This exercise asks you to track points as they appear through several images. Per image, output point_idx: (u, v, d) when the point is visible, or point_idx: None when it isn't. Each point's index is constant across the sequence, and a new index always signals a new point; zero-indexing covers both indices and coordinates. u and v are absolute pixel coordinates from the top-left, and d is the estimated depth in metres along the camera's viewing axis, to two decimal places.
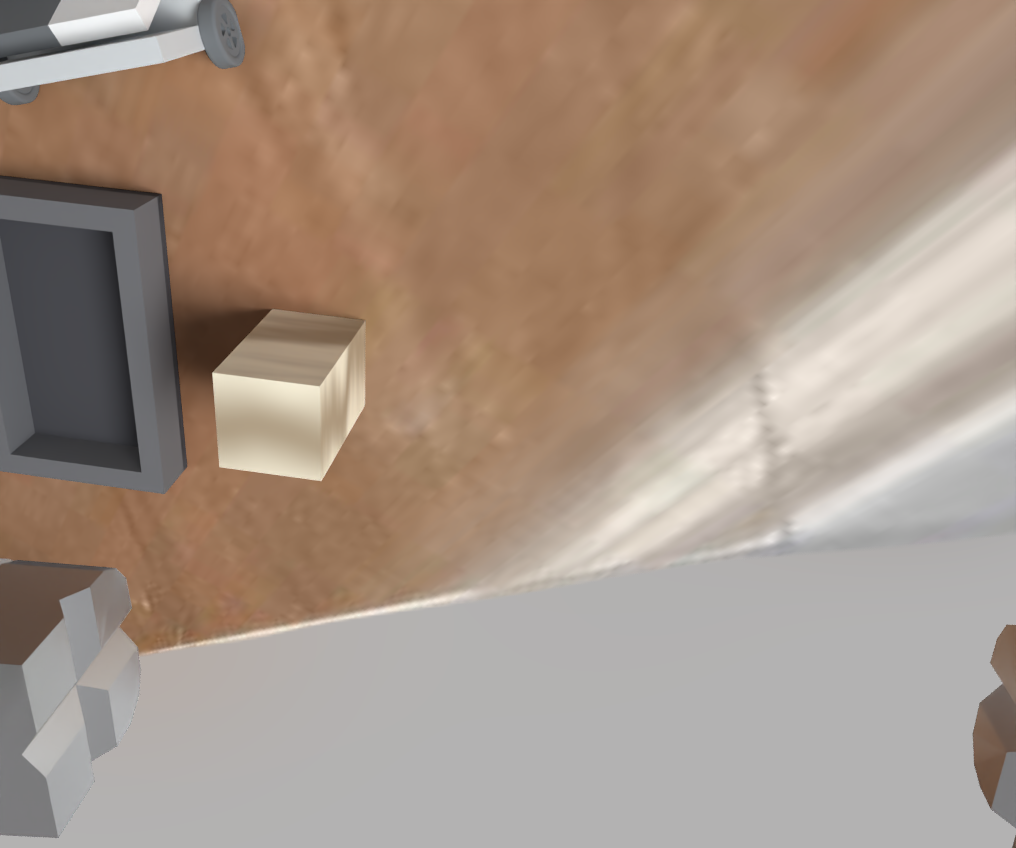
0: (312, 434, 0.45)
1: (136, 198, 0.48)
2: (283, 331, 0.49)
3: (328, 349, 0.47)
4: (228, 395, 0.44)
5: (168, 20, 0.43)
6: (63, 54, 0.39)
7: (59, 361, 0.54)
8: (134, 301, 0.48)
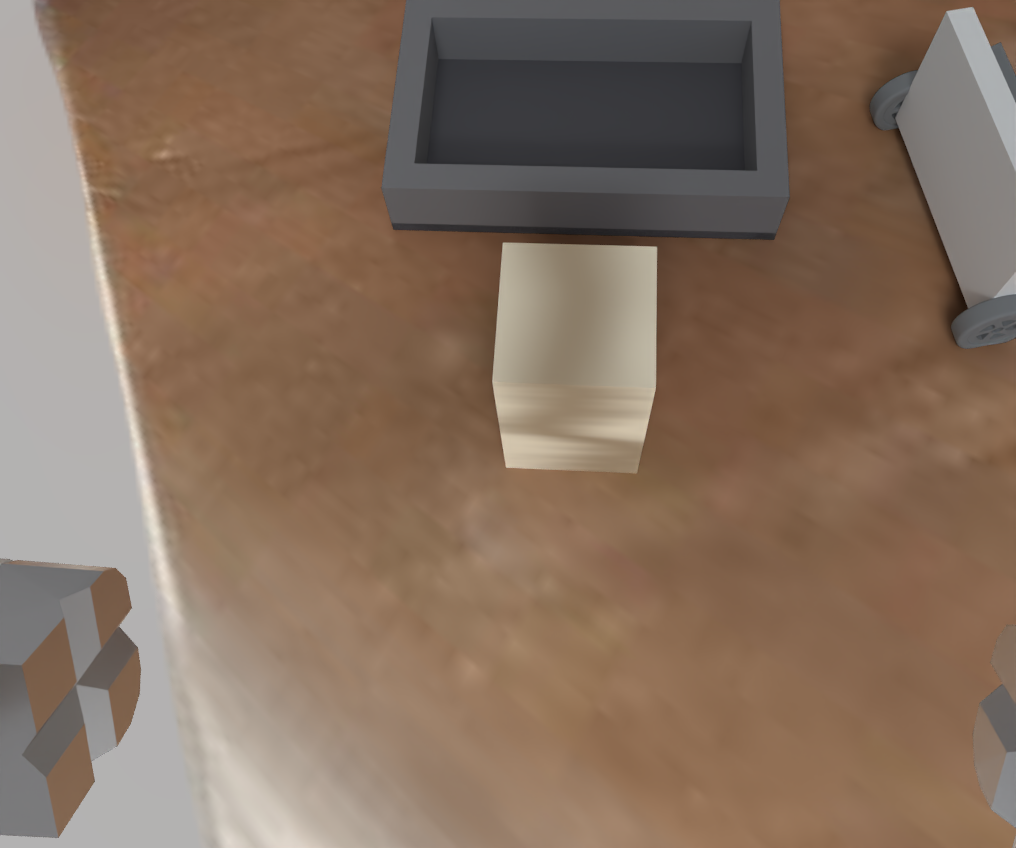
0: (572, 372, 0.30)
1: None
2: None
3: None
4: (624, 264, 0.31)
5: None
6: None
7: (542, 99, 0.43)
8: (667, 184, 0.38)
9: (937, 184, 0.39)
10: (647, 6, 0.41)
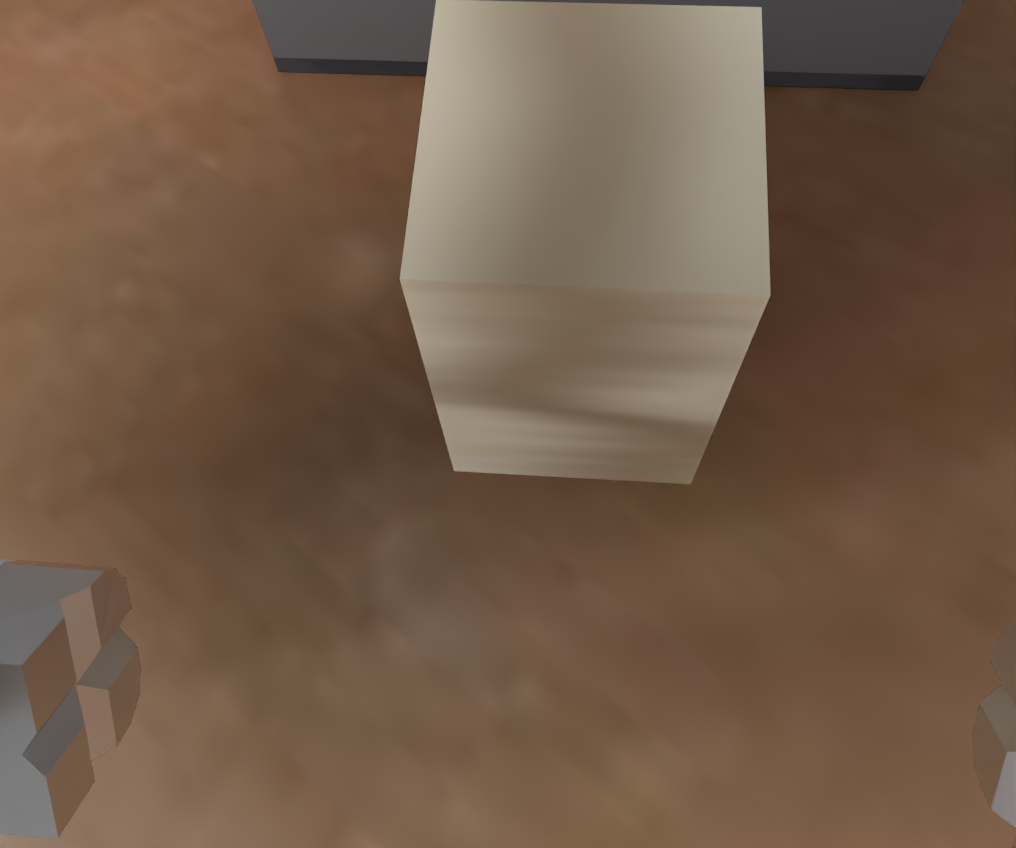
0: (580, 260, 0.13)
1: None
2: None
3: None
4: (691, 40, 0.15)
5: None
6: None
7: None
8: None
9: None
10: None
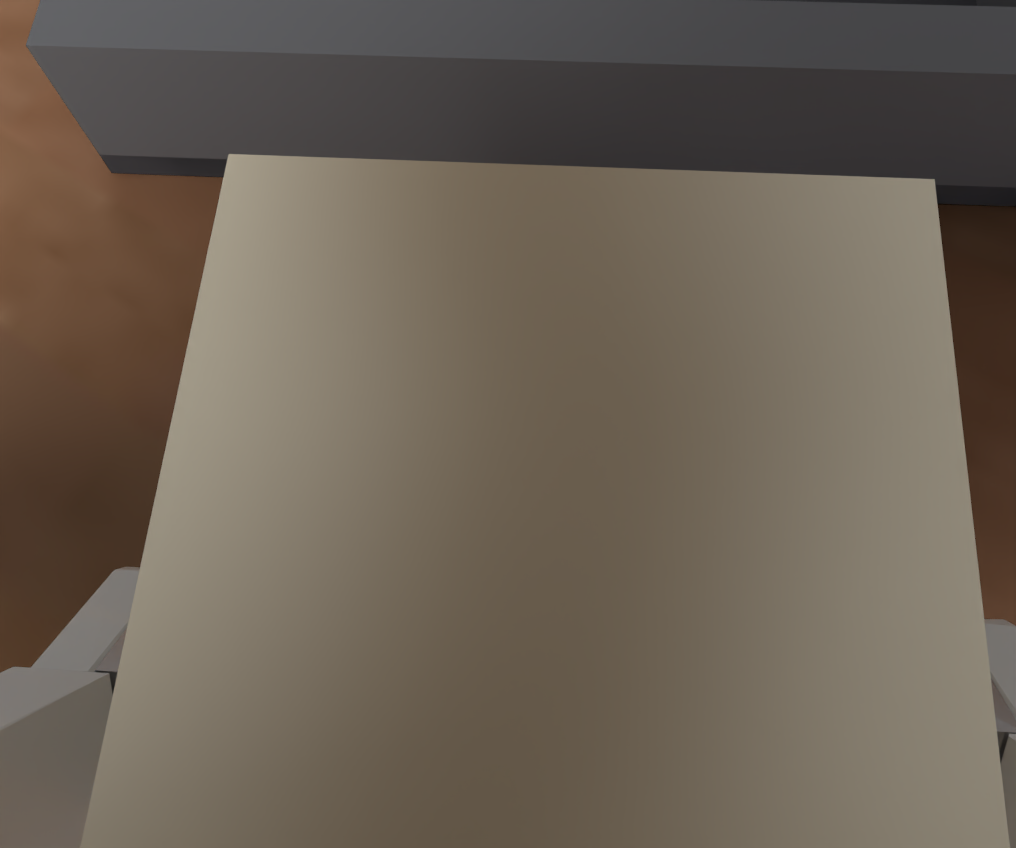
0: None
1: None
2: None
3: None
4: (785, 256, 0.07)
5: None
6: None
7: None
8: (821, 41, 0.14)
9: None
10: None
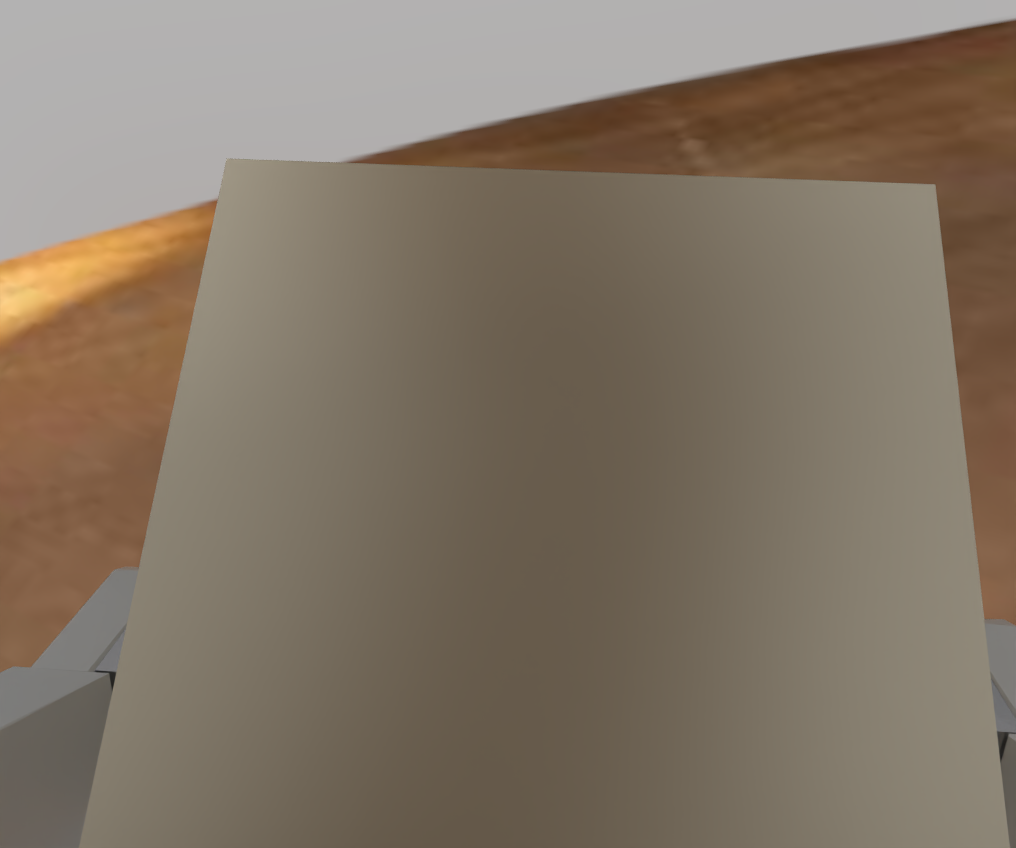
0: None
1: None
2: None
3: None
4: (784, 261, 0.07)
5: None
6: None
7: None
8: None
9: None
10: None
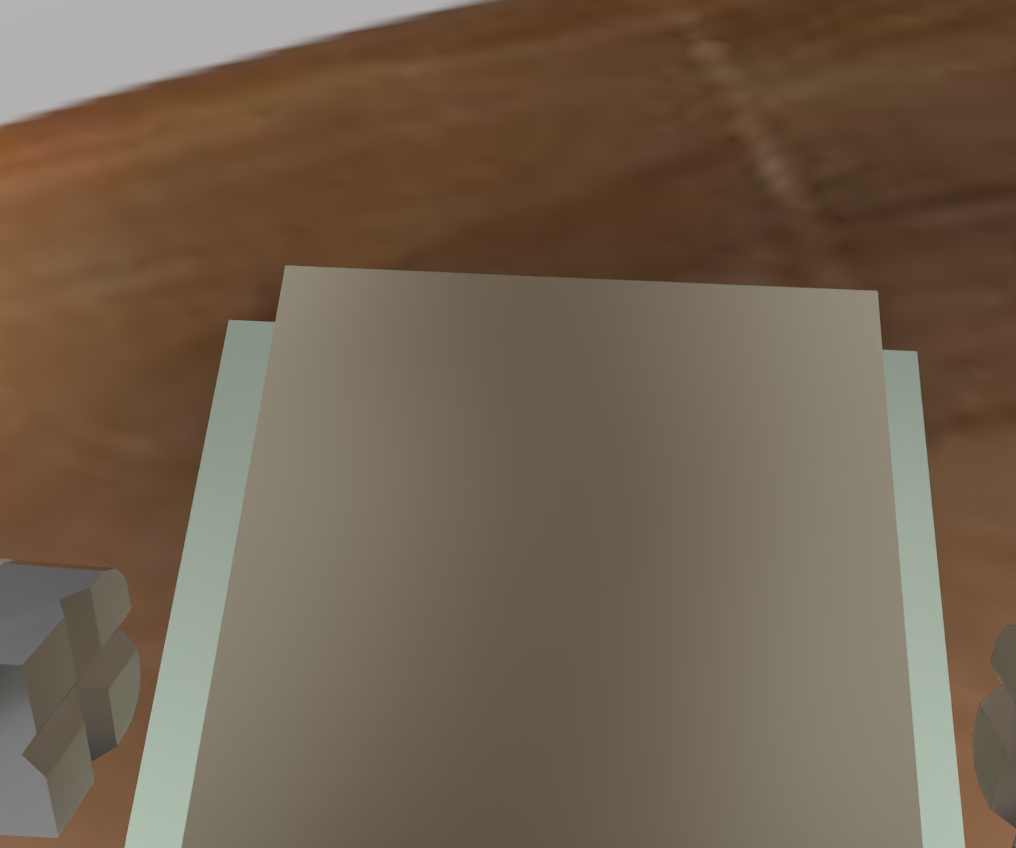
0: None
1: None
2: None
3: None
4: (752, 357, 0.08)
5: None
6: None
7: None
8: None
9: None
10: None
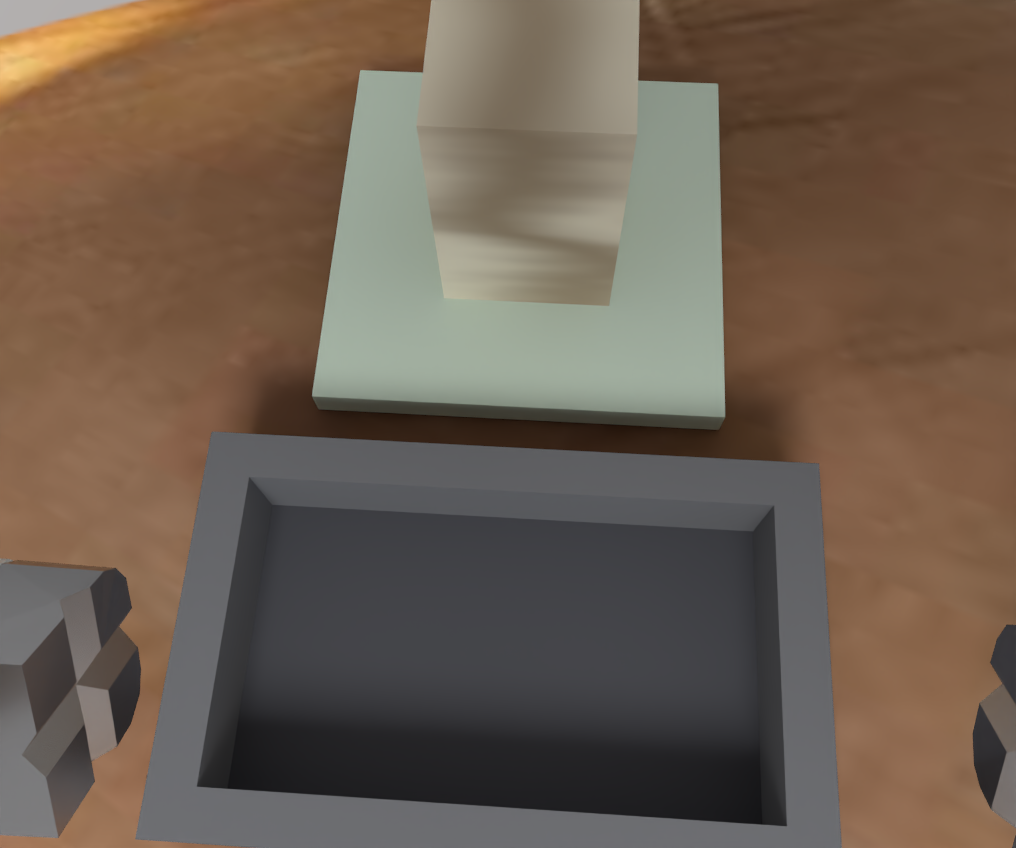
0: (525, 115, 0.22)
1: None
2: None
3: None
4: None
5: None
6: None
7: (434, 591, 0.27)
8: None
9: None
10: (604, 469, 0.25)
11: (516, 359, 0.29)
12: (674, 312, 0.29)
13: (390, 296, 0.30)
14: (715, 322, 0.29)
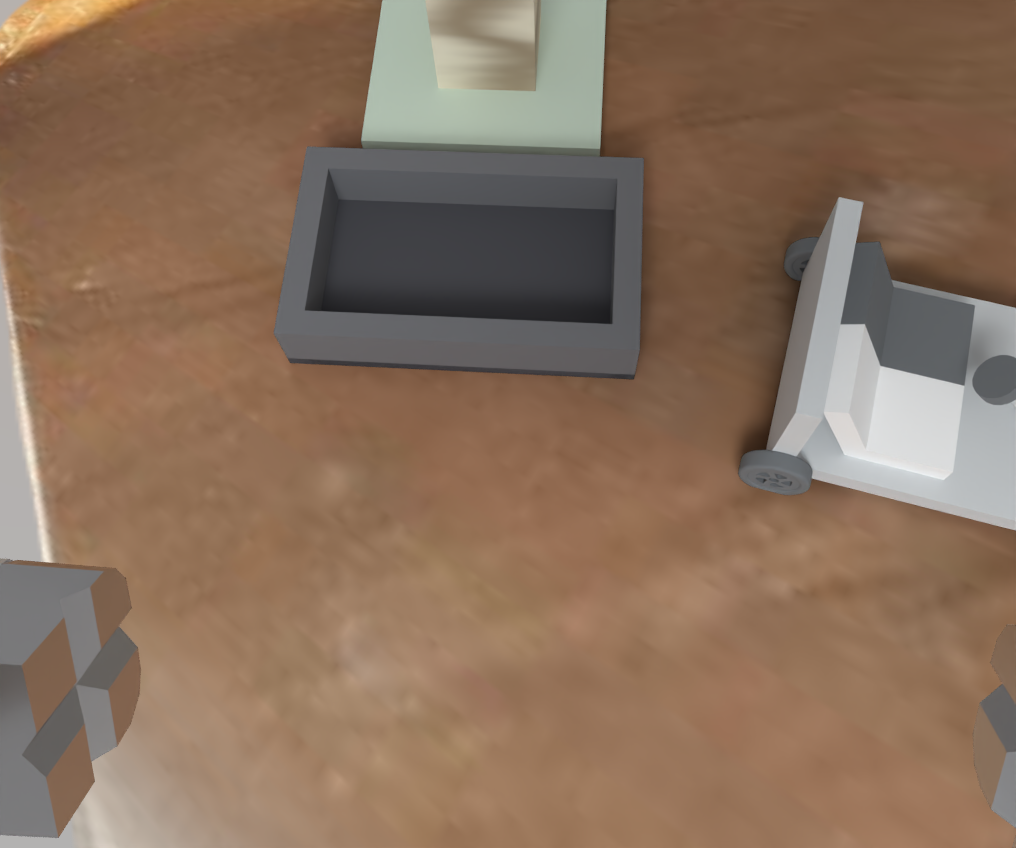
0: None
1: None
2: None
3: (535, 18, 0.46)
4: None
5: None
6: (839, 323, 0.38)
7: (431, 241, 0.47)
8: (531, 335, 0.42)
9: (792, 340, 0.43)
10: (524, 162, 0.46)
11: (480, 120, 0.49)
12: (573, 94, 0.49)
13: (406, 87, 0.50)
14: (597, 99, 0.49)
